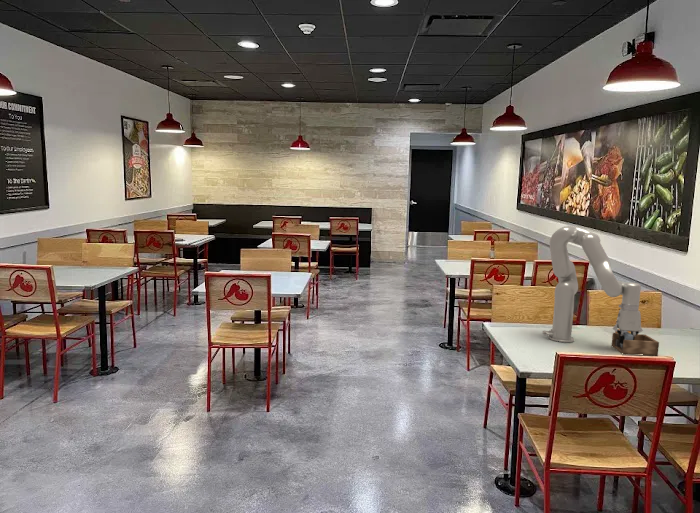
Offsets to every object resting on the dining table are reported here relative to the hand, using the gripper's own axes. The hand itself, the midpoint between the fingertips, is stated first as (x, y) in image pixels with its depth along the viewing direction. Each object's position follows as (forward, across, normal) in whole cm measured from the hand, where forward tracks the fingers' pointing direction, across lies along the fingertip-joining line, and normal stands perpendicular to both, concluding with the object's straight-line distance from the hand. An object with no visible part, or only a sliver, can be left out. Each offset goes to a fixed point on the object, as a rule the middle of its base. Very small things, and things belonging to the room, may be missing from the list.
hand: (626, 343), depth 259 cm
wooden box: (+4, +4, 0) cm, 6 cm away
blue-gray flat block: (+3, 0, 0) cm, 3 cm away
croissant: (+4, +10, +22) cm, 24 cm away
